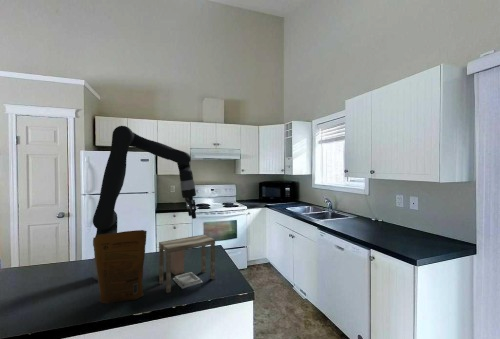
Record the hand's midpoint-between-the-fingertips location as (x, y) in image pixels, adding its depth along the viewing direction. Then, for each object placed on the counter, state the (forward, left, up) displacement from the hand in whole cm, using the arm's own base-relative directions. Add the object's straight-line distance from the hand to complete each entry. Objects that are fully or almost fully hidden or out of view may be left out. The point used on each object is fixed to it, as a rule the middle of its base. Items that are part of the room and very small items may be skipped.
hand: (192, 217), depth 138 cm
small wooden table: (-14, -14, -27) cm, 33 cm away
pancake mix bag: (-42, -7, -27) cm, 50 cm away
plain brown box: (-11, -1, -27) cm, 29 cm away
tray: (-14, -14, -27) cm, 33 cm away
